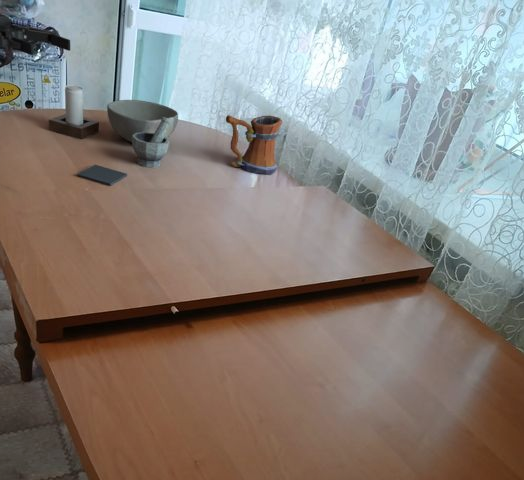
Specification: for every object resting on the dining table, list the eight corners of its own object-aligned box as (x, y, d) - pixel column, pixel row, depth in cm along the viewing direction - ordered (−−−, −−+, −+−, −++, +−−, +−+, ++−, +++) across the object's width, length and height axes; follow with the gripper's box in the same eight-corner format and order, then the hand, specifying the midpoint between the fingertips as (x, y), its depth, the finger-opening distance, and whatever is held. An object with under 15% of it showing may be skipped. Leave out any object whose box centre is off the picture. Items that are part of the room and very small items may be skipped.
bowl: (150, 129, 175) (152, 96, 169) (188, 151, 165) (192, 117, 159) (93, 132, 162) (93, 96, 157) (130, 156, 152) (132, 119, 146)
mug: (226, 173, 155) (234, 119, 147) (213, 159, 163) (220, 107, 155) (282, 176, 163) (293, 124, 154) (267, 162, 171) (276, 112, 162)
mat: (76, 176, 134) (76, 173, 133) (95, 166, 141) (95, 164, 140) (110, 186, 133) (110, 183, 132) (127, 175, 140) (127, 173, 140)
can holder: (49, 130, 157) (48, 119, 155) (68, 123, 165) (68, 113, 163) (81, 139, 155) (81, 128, 154) (99, 132, 164) (99, 121, 162)
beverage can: (83, 134, 159) (83, 90, 152) (66, 132, 158) (65, 88, 151) (82, 129, 163) (82, 86, 156) (65, 127, 161) (64, 84, 154)
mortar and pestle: (146, 171, 145) (149, 125, 138) (124, 159, 149) (125, 113, 142) (177, 166, 153) (182, 122, 146) (155, 155, 157) (158, 111, 150)
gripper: (29, 38, 166) (83, 57, 161) (-42, 44, 148) (16, 67, 142) (27, 10, 162) (83, 29, 156) (-47, 13, 143) (13, 34, 138)
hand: (51, 47), depth 149 cm, fingers open, 13 cm apart
